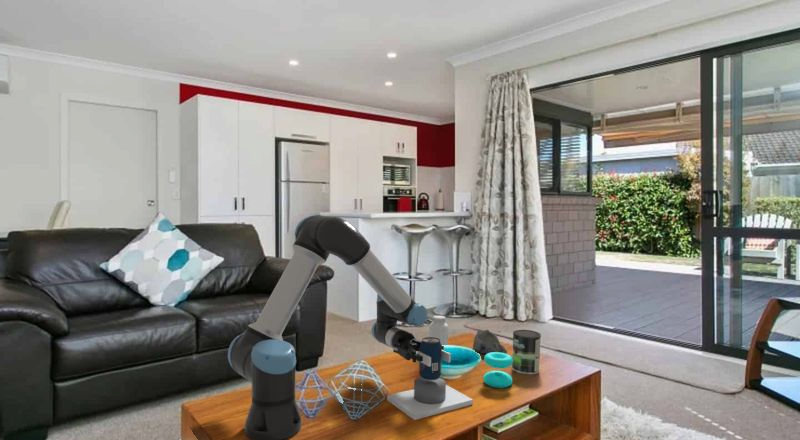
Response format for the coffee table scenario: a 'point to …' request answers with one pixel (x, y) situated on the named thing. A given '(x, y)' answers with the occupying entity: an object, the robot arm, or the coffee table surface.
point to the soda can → (433, 350)
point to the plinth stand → (428, 399)
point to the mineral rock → (487, 343)
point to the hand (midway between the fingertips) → (439, 359)
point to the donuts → (498, 377)
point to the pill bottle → (439, 329)
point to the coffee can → (526, 351)
